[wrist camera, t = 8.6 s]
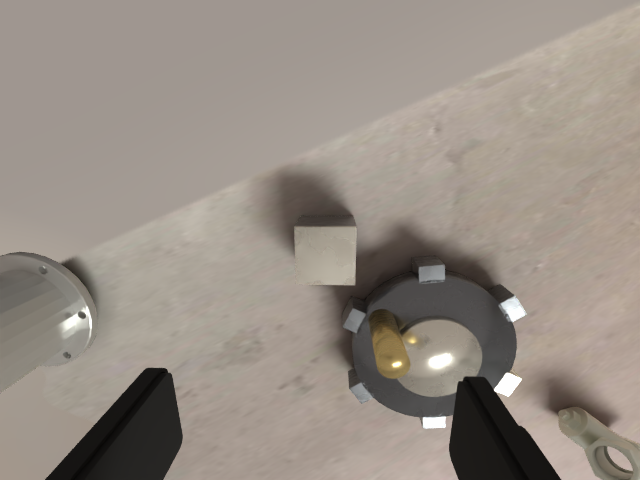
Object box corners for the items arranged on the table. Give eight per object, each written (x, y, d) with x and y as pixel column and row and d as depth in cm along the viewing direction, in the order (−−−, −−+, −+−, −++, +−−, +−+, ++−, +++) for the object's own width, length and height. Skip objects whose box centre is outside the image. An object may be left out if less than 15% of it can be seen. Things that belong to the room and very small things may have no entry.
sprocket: (308, 323, 30) (298, 383, 22) (462, 225, 27) (517, 254, 19) (395, 428, 34) (414, 516, 25) (543, 353, 30) (621, 426, 22)
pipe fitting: (543, 422, 32) (615, 497, 26) (571, 398, 31) (652, 471, 25) (563, 420, 36) (628, 483, 31) (588, 399, 35) (659, 461, 30)
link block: (302, 264, 30) (295, 284, 25) (301, 215, 29) (294, 226, 24) (351, 264, 30) (355, 285, 25) (353, 215, 28) (356, 227, 24)
